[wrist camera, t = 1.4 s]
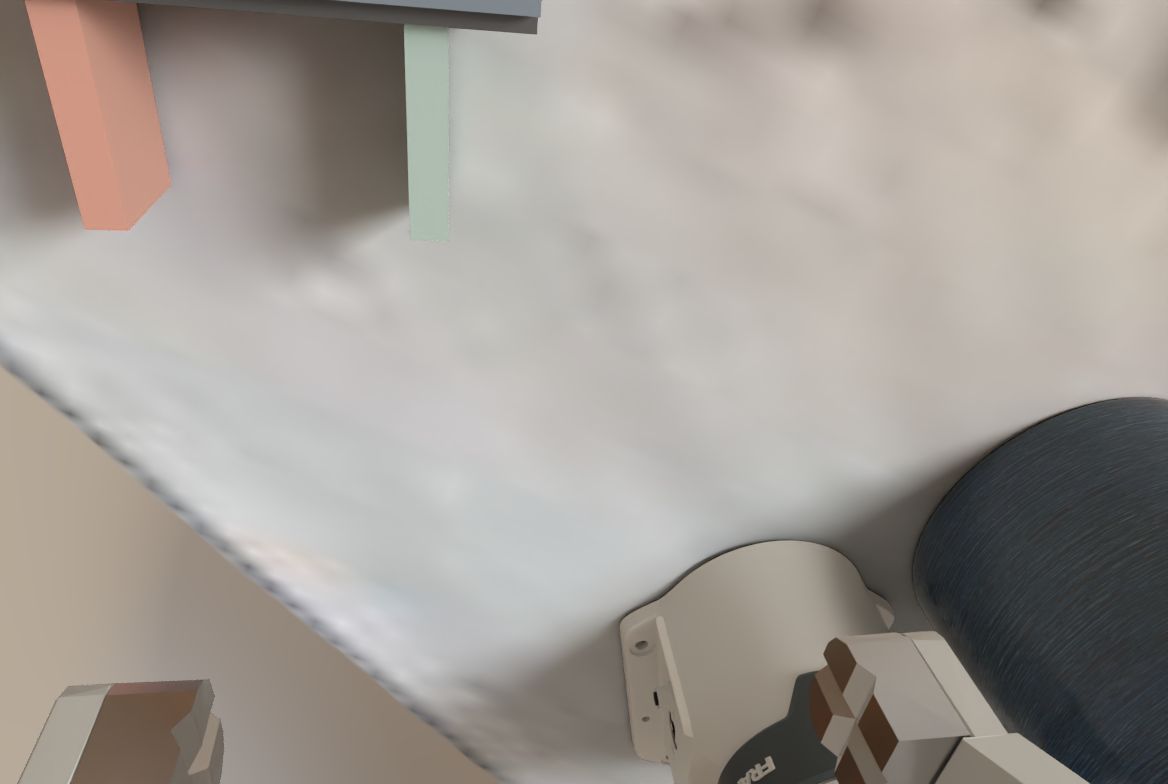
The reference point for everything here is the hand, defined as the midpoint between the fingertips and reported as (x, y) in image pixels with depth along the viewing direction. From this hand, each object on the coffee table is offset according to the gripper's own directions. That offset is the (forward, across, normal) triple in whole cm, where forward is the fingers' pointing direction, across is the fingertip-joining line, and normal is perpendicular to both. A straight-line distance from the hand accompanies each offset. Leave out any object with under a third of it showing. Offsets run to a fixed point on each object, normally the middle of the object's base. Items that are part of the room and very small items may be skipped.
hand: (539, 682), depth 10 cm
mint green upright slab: (+26, +2, -4) cm, 27 cm away
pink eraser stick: (+26, +13, -4) cm, 30 cm away
